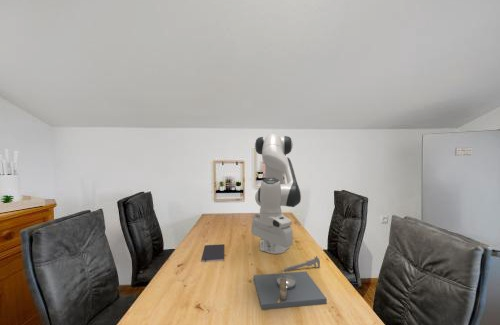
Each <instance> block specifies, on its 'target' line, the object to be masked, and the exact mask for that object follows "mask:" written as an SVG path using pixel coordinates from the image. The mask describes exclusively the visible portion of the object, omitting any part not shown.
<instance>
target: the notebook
mask: <svg viewBox="0 0 500 325" xmlns="http://www.w3.org/2000/svg"><path fill="white" fill-rule="evenodd" d="M202 251H203V252H202V256H201V259H200V260H201V262H202V263H203V262H205V263H207V262H217V261H219V262H220V261H221V262H223V261H225V244H223V243H222V244H207V245H205V244H204V247H203V250H202Z"/></svg>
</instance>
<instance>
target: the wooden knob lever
mask: <svg viewBox="0 0 500 325" xmlns="http://www.w3.org/2000/svg"><path fill="white" fill-rule="evenodd" d="M277 285H278V286H279V287H280V299H281V300H286V299H287V289H292V288H294V287H295V278H294V277H292V276H290V275H280V276H278V277H277Z"/></svg>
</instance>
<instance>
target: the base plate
mask: <svg viewBox="0 0 500 325" xmlns="http://www.w3.org/2000/svg"><path fill="white" fill-rule="evenodd" d="M280 275H290V276H292V277H294V278H295V287H294V288H292V289H287V299H286V300H281V299H280V287H279V286H278V285H277V277H278V276H280ZM253 282H254V287H255V290H256V293H257V296H258V301H259V305H260V308H261V310H262V311H263V310H274V309H282V308H283V309H285V308H293V307H294V308H296V307H304V306H314V305H315V306H317V305H325V304H326V305H327V302H328V301H327V297H326V296H325V294H324V293H323V292H322V291H321V288H319V286H318V285H317V284H316V283H315V281H314V280H313V278H312V277H311V276H310V274H309V272H307V271H294V272H281V273H268V274H267V273H266V274H255V275H253Z"/></svg>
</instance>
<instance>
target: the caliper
mask: <svg viewBox="0 0 500 325" xmlns="http://www.w3.org/2000/svg"><path fill="white" fill-rule="evenodd" d="M313 257H314V258H312V259H309V260H306V261H304V262H301V263H297V264H294V265H290V266H287V267H283V269H281V271H282V272H289V271H294V270H296V269H299V268H303V267H306V266H307V267H312V266H314V268H315V269H317V268H321V261H320V258H319V256H318V255H316V256H313Z"/></svg>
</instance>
